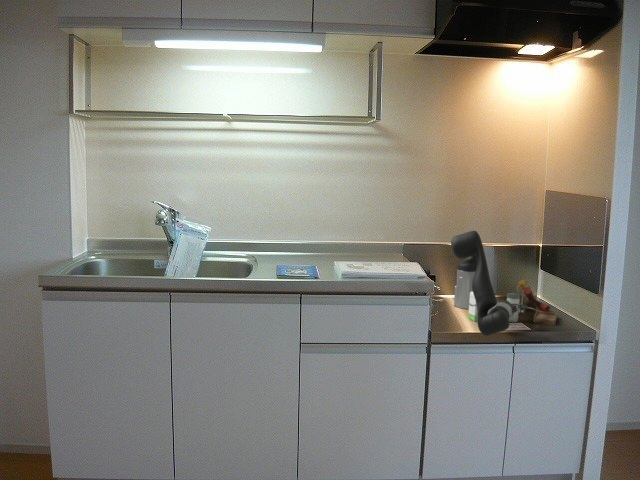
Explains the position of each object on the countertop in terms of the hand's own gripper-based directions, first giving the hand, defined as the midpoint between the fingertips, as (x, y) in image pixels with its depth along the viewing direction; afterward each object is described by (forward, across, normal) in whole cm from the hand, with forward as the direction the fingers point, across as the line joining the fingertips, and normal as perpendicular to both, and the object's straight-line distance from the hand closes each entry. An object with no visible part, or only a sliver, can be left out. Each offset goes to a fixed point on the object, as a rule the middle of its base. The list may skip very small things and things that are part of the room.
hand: (508, 303), depth 216 cm
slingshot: (+35, -4, +10) cm, 36 cm away
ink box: (+6, +12, +10) cm, 17 cm away
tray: (+19, -12, +10) cm, 25 cm away
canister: (+12, 0, +10) cm, 15 cm away
